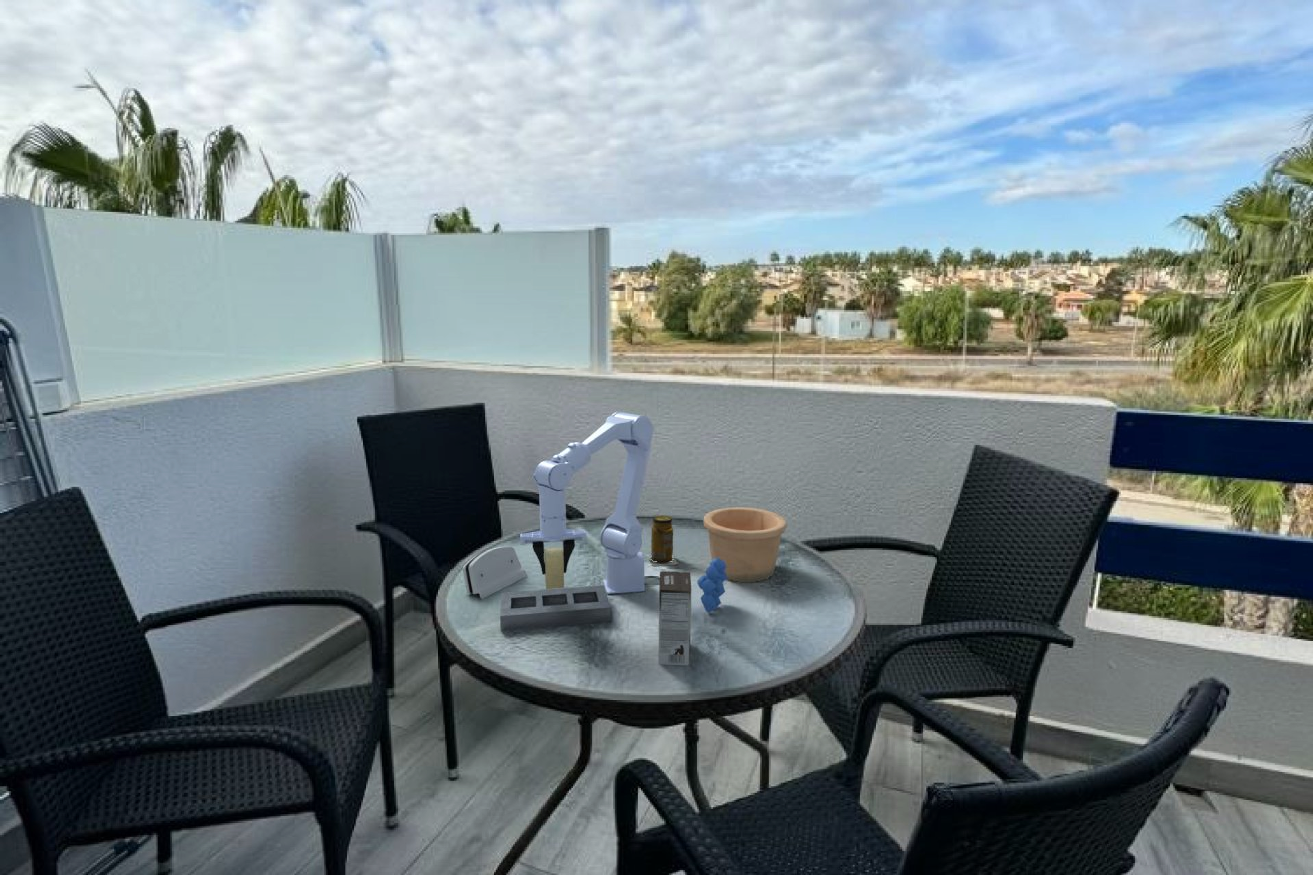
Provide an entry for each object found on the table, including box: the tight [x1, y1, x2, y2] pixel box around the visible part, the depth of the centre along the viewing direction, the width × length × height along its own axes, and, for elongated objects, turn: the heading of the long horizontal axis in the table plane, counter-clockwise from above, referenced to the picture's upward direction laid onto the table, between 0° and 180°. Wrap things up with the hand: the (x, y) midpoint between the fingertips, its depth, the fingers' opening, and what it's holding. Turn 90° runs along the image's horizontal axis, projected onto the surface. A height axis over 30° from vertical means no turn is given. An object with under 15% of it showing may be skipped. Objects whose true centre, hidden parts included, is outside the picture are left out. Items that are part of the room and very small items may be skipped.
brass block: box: [544, 547, 565, 590], centre depth 148 cm, size 4×4×8 cm
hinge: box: [462, 546, 528, 600], centre depth 166 cm, size 17×5×10 cm, turn 149°
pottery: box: [702, 506, 788, 583], centre depth 175 cm, size 22×22×14 cm
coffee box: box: [658, 570, 692, 666], centre depth 132 cm, size 9×6×16 cm
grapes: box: [696, 558, 727, 613], centre depth 153 cm, size 12×7×12 cm, turn 154°
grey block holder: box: [499, 584, 611, 632], centre depth 150 cm, size 24×12×4 cm, turn 101°
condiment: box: [646, 515, 679, 567], centre depth 182 cm, size 7×8×12 cm
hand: (554, 571), depth 148 cm, fingers closed on brass block, 4 cm apart
